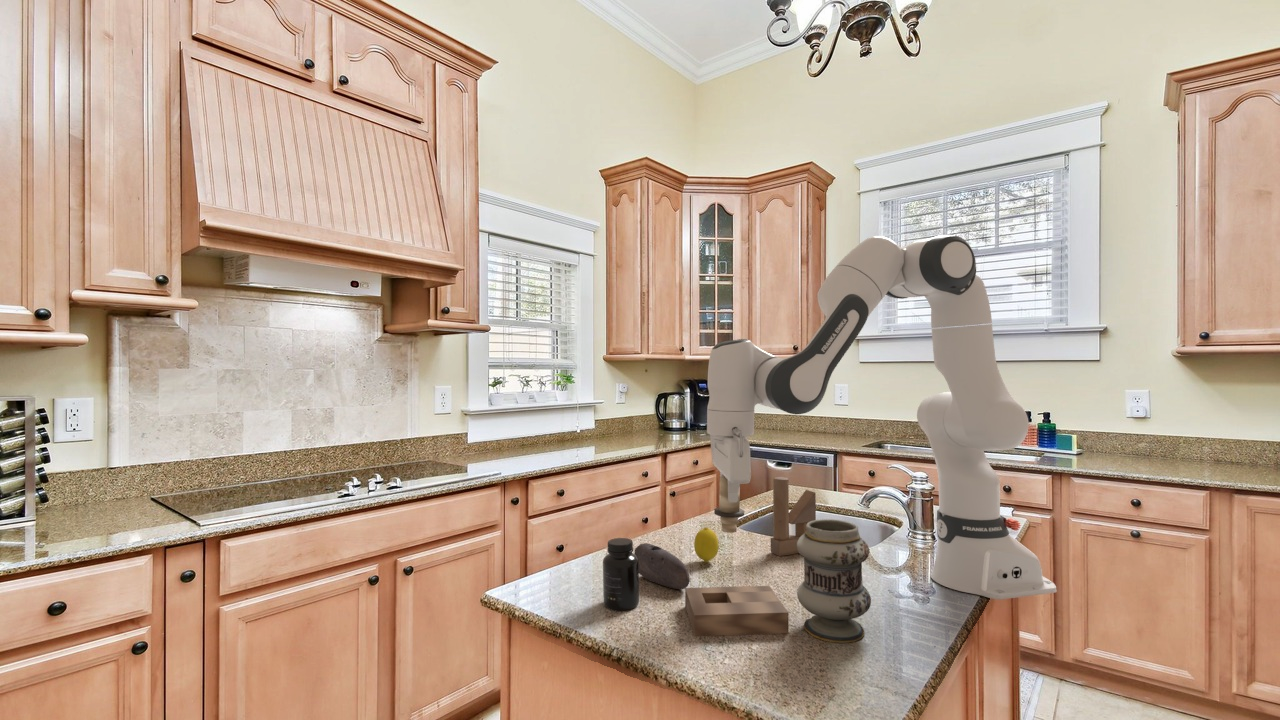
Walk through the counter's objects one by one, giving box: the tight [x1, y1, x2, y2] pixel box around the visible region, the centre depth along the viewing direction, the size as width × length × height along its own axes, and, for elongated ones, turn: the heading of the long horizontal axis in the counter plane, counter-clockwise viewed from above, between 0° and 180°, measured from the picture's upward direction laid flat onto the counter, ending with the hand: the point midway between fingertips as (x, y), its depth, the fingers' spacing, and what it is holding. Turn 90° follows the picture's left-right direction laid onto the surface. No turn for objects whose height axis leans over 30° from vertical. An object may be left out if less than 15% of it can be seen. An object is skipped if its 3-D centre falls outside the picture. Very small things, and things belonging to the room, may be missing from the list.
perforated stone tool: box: [633, 542, 691, 590], centre depth 124 cm, size 15×5×7 cm, turn 38°
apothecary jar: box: [796, 518, 872, 644], centre depth 102 cm, size 12×12×18 cm
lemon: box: [693, 527, 720, 563], centre depth 137 cm, size 6×6×8 cm
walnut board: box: [684, 585, 790, 637], centre depth 107 cm, size 16×12×4 cm
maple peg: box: [713, 476, 745, 534], centre depth 113 cm, size 6×6×10 cm
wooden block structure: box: [770, 476, 817, 557], centre depth 144 cm, size 4×11×18 cm, turn 112°
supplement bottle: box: [602, 537, 640, 612], centre depth 114 cm, size 7×7×12 cm
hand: (729, 498), depth 113 cm, fingers closed on maple peg, 4 cm apart
